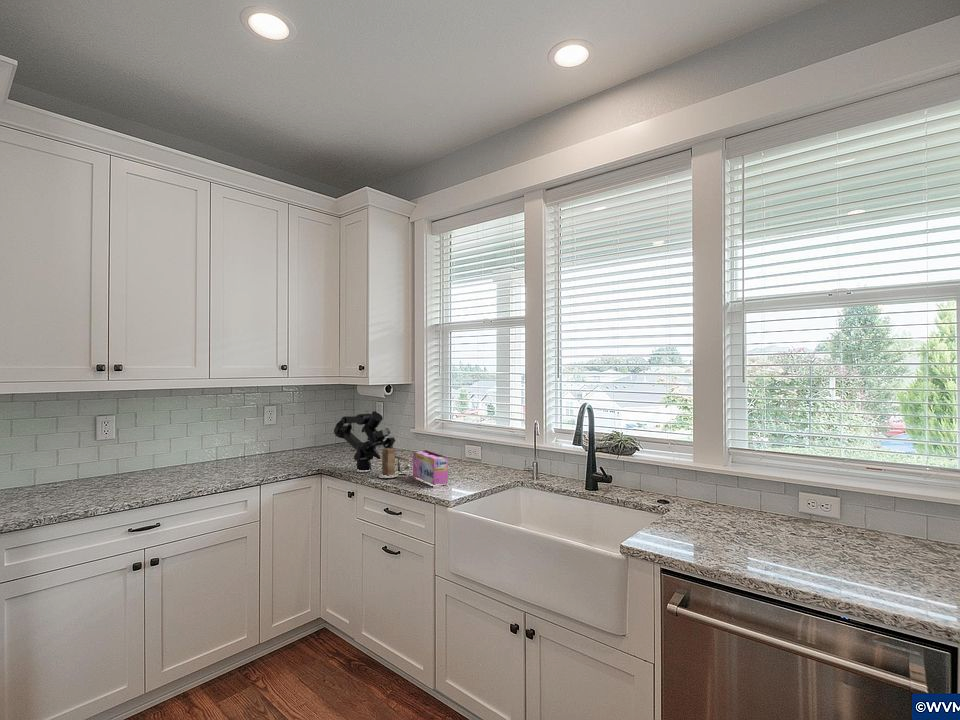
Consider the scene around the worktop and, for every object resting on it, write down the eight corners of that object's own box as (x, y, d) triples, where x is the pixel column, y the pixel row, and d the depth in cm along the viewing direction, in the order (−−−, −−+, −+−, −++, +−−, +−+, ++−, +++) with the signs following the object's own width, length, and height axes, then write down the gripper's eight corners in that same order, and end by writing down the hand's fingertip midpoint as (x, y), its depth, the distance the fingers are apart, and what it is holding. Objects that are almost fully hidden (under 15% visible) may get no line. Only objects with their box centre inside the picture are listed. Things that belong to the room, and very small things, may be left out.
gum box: (410, 477, 246) (411, 450, 246) (424, 476, 251) (425, 449, 251) (433, 488, 226) (433, 458, 226) (448, 486, 231) (448, 457, 231)
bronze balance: (384, 474, 253) (384, 455, 253) (387, 472, 257) (387, 453, 257) (410, 475, 251) (410, 456, 251) (412, 473, 255) (412, 454, 255)
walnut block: (381, 474, 246) (382, 449, 246) (388, 473, 250) (388, 447, 250) (387, 476, 244) (388, 450, 244) (394, 474, 247) (394, 448, 247)
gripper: (365, 425, 243) (380, 450, 237) (393, 421, 258) (408, 445, 252) (355, 439, 248) (369, 464, 241) (382, 435, 263) (396, 458, 256)
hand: (386, 457), depth 248 cm, fingers open, 9 cm apart
